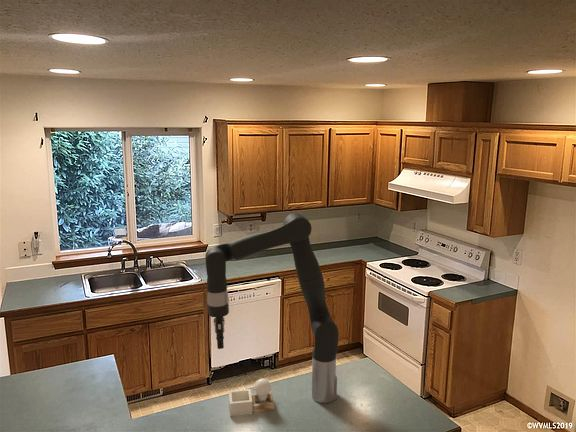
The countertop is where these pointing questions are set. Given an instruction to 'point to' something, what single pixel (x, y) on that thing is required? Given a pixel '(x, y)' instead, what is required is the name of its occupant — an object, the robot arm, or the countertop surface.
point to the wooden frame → (263, 404)
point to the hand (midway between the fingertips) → (220, 342)
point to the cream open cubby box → (240, 402)
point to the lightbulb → (262, 389)
